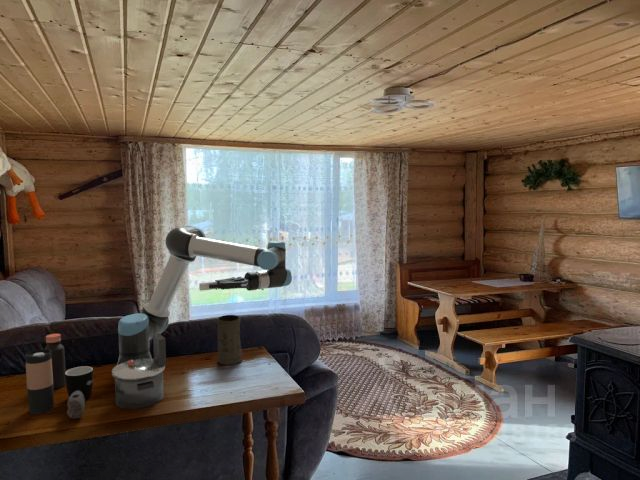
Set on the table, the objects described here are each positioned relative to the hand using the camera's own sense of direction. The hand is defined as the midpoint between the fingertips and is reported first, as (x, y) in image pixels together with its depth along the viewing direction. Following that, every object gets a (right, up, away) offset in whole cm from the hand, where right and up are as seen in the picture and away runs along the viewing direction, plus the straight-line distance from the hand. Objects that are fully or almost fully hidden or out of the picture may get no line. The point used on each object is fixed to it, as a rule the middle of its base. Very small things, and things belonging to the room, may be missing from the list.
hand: (200, 286), depth 172 cm
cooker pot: (-19, -40, -9) cm, 45 cm away
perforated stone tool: (-36, -41, -20) cm, 58 cm away
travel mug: (-50, -41, -18) cm, 67 cm away
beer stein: (+6, -36, +30) cm, 48 cm away
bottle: (-56, -39, +2) cm, 68 cm away
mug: (-41, -40, -7) cm, 58 cm away
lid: (-19, -29, -10) cm, 36 cm away
